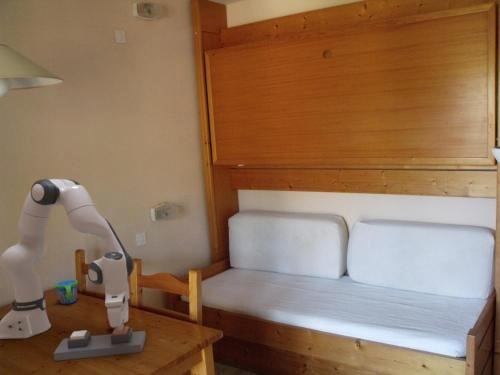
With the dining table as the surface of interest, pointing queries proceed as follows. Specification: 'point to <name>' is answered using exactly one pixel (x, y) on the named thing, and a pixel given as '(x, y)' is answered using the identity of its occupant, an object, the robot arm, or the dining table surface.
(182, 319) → the dining table surface
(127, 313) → the white short cylinder
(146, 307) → the dining table surface
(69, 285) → the snack cup
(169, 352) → the dining table surface
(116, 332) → the key brick
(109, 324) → the apple
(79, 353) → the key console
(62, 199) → the robot arm
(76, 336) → the key ivory
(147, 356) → the dining table surface
